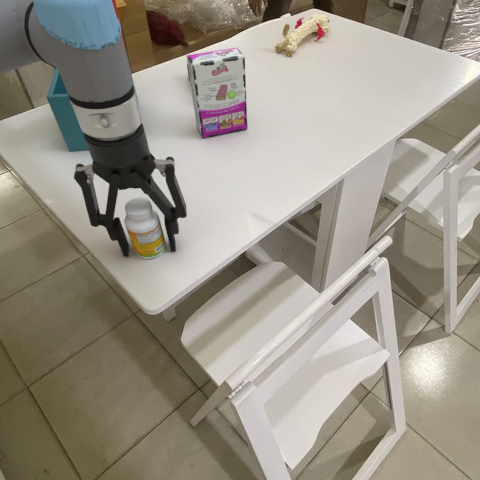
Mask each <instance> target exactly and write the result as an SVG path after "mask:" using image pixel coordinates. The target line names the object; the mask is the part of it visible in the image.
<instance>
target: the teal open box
mask: <svg viewBox="0 0 480 480" xmlns="http://www.w3.org/2000/svg"><path fill="white" fill-rule="evenodd" d="M126 55H127V59H128V64H129V68H130V73H131V77H132V81H133V87H134V90H135V93H136V97H137V101H138V102H139V99H138V95H137V90H136V86H135V82H134V78H133V74H132V69H131V65H130V62H129V58H128V57H129V56H128V52H126ZM46 99H47V100H46V101H47V102H48V105H49V107H50V109H51V112H52V114H53V117H54V118H55V121H56V123H57V126H58V128H59V131H60V133H61V136H62V138H63V141H64V142H65V145H66V147H67V149H68V151H69V152H82V151H89V149H88V147H87V144H86V141H85V139H84V135H83V134H84V132H83V131H82V130H81V127H80V125H79V122H78V120H77V117H76V114H75V112H74V109H73V107H72V104H71V102H70V99H69V96H68V93H67V90H66V88H65V85H64V83H63V80H62V78H61V75H60V73H59V70H58V69H57V68H55V70H54V73H53V75H52V79H51V81H50V84H49V88H48V91H47V94H46Z"/></svg>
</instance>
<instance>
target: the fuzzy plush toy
mask: <svg viewBox="0 0 480 480" xmlns="http://www.w3.org/2000/svg"><path fill="white" fill-rule="evenodd" d="M302 20H304V21H302ZM329 23H330V19H329V17H328V16H327V15H324V14H321V13H317V12H316V13H313V15H311V16H310V17H309V20H308V19H305V17H304V16H303V17H301V18H299V19H297V20H296V24H295V25H294V30H293V31H292V32H291V33H290V34H289V31H290V28H291V25H290V24H288V23H286V24H284V26H283V29H282V37H283V39H282V40H281V41H278V42H276V45H275V46H274V50H275V51H276V53H277V54H280V53H282V52H283V49H284V50H285V52H284V53H285V54H286V56H287V57H289V58H290V57H291V56H292V55H293V54H294V52H295V51H296V50H297V49H298V44H299V43H300V42H301V41H302V40H303V39H304V38H306V37H307V36H309V35H311V34H312V33H317V37H316V39H315V40H314V42H318V41H319V40H320V41H321V39H322V38H323V37H324V36H325V35H326V34H327V32H330V31H331V29H332V27H331V26H329Z"/></svg>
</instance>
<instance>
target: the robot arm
mask: <svg viewBox="0 0 480 480" xmlns="http://www.w3.org/2000/svg"><path fill="white" fill-rule="evenodd" d="M119 20H120V18H119V19H117V15H116V13H115V9H114V6H113V2H112V0H0V76H1V75H5V74H8V73H10V72H12V71H15V70H18V69H21V68H24V67H26V66H30V65H32V64H34V63H37V62H42V63H45V64H46V65H49V66H51V67H52V68H55V69H56V68H57V69H58V70H59V73H60V75H61V78H62V80H63V83H64V85H65V88H66V90H67V93H68V96H69V99H70V102H71V104H72V107H73V109H74V112H75V114H76V117H77V120H78V122H79V125H80V127H81V130H82V131H83V132H84V134H83V135H84V139H85V141H86V144H87V147H88V149H89V150H88V152H89V155H90V156H91V159H92V163H91V164H87V165H84V164H82V163H77V164H76V165H75V169H74V174H73V179H74V180H75V182H76V183H77V184H78V186H79V187H80V189H81V193H82V196H83V201H84V204H85V208H86V212H87V215H88V220H89V224H90V226H91V227H93V228H98V227H99V226H101V227H104V228H105V229H106V232H107V234H108V236H109V239H110V240H111V241H112V242H116V241H117V243H118V246H119V248H120V251H121V254H122V256H123V257H124V258H127V257H129V255H130V254H129V253H130V244H129V241H128V238H127V236H126V232H125V229H124V227H123V224H122V222H121V219H120V216H119V217H118V216H117V217H115V211H116V207H117V200H118V193H119V191H124V190H128V189H134V190H135V189H140V190H141V191H142V192H143V193H144V194H145V195H147V196H148V198H149V199H150V200H151V202H152V203H154V205H155V206H156V207H157V209H158V210H159V211H160V212H161V214H162V215H163V217H164V219H163V220H164V221H163V222H164V228H165V232H166V237H167V240H168V243H169V247H170V251H171V252H177V249H176V248H177V247H176V245H177V244H176V237H175V235H179V234H180V225H179V221H178V219H180V218H181V219H185V218H187V213H188V212H187V203H186V201H185V198H184V195H183V192H182V190H181V187H180V184H179V181H178V178H177V175H176V172H175V171H176V169H175V167H176V166H175V159H174V157H173V156H167V157H166V158H165V159H160V158H159V159H158V158H155V156H154V155H153V154H152V153H151V151H150V147H149V143H148V139H147V136H146V130H145V127H144V124H143V123H142V121H143V119H142V114H141V110H140V104H139V100H138V101H137V98H138V96H137V97H136V94H137V92H136V93H135V90H136V89H135V90H134V87H133V82H134V80H133V81H132V78H133V76H132V77H131V73H132V72H131V73H130V69H131V67H130V68H129V65H130V63H129V64H128V61H129V58H128V59H127V57H128V54H127V55H126V53H127V51H126V50H125V47H126V45H125V46H124V43H125V41H124V42H123V38H124V36H123V37H122V34H123V32H122V33H121V29H122V25H120V24H121V21H120V22H119ZM155 170H158V171H159V174H160V175H161V176H162V177H163V178H165V183H166V186H167V189H168V192H169V194H170V196H171V199H172V201H173V203H174V205H173V203H172V202H171V201H170V200H169V198H168V196H166V194H165V193H164V192H163V191H162V189H161V188H160V187H159V185H158V183H156V181H155V179H154V177H153V173H154V171H155ZM95 175H96V176H97V177H99V178H100V179H101V180H103V181H104V182H106V183H107V184H108V190H107V198H106V206H105V213H101V210H100V206H99V201H98V197H97V193H96V188H95V183H94V178H95Z"/></svg>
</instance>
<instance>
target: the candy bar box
mask: <svg viewBox="0 0 480 480" xmlns="http://www.w3.org/2000/svg"><path fill="white" fill-rule="evenodd" d="M245 57H246V56H245V54H243V53H242V51H240V49H239V48H238V47H232V48H225V49H218V50H212V51H206V52H205V51H204V52H199V53H192V54H187V55H186V63H187V64H188V69H189V76H190V81H189V82H190V89H191V95H192V103H193V110H194V118H195V124H196V125H195V126H196V129H197V131H198V132H199V135H200V136H201V138H202V139H208V138H212V137H217V136H221V135H226V134H231V133H235V132H240V131H245V130H248V114H247V111H248V109H247V85H246V84H247V81H246V59H245Z"/></svg>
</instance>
